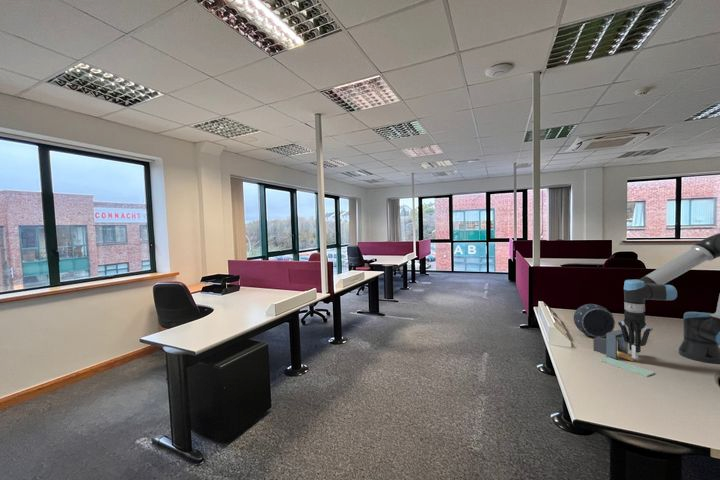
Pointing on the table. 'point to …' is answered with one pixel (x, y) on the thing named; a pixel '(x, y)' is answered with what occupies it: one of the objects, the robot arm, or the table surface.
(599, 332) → the dark grey short cylinder
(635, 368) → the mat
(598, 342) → the grey hammer
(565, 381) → the table surface
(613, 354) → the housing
